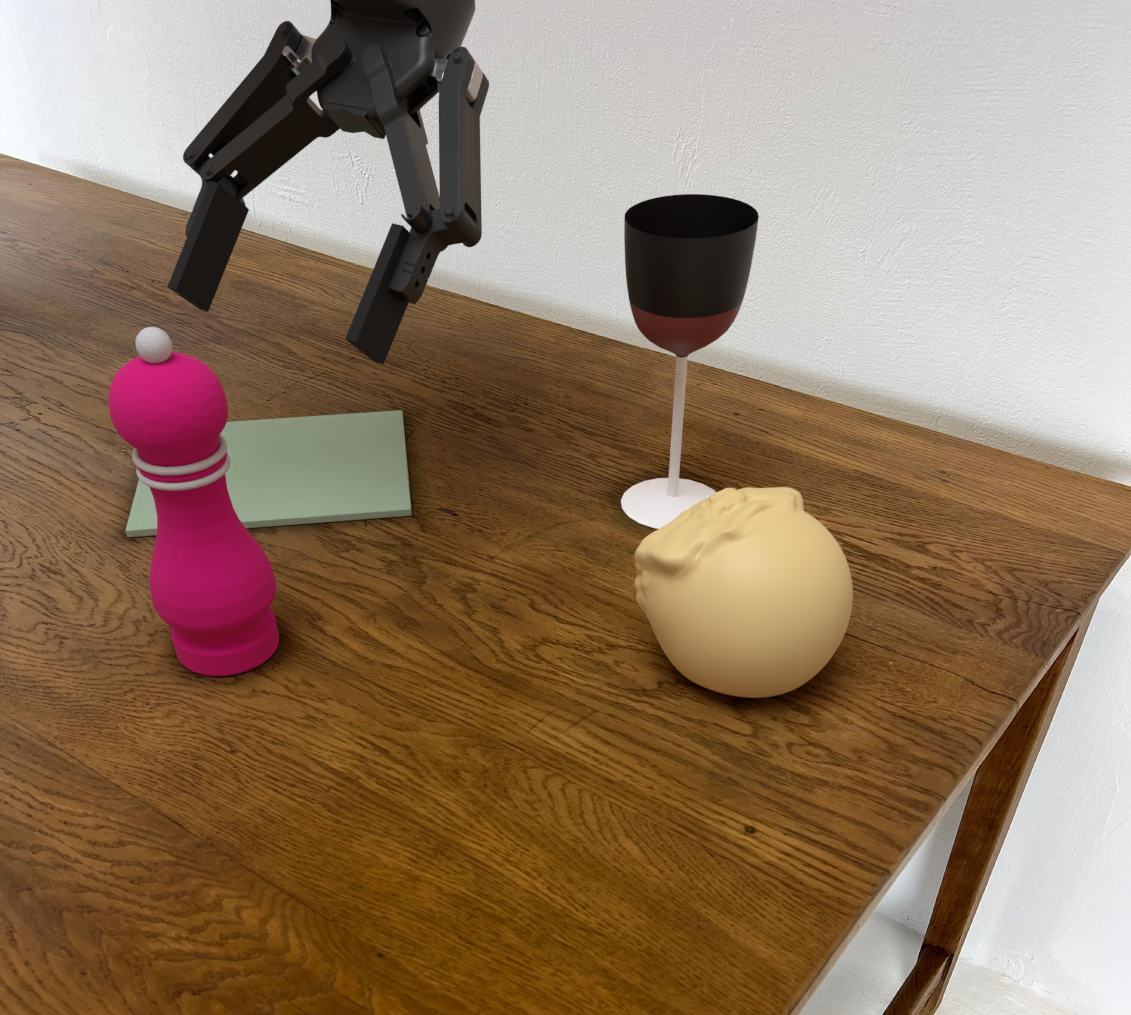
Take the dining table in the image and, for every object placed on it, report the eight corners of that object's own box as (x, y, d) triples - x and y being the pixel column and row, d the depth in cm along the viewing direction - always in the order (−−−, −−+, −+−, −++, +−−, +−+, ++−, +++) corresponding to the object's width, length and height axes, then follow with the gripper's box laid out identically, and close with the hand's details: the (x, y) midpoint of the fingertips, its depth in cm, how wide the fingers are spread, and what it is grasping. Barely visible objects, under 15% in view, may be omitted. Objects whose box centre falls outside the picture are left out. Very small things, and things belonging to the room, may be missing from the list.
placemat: (127, 537, 80) (125, 530, 80) (154, 433, 92) (152, 426, 92) (411, 516, 82) (411, 508, 82) (402, 416, 94) (402, 409, 94)
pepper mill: (253, 599, 75) (184, 290, 61) (309, 651, 71) (248, 331, 57) (149, 641, 71) (51, 324, 58) (201, 698, 67) (110, 371, 54)
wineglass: (751, 498, 84) (785, 211, 71) (678, 546, 79) (700, 248, 66) (666, 463, 88) (683, 185, 75) (592, 507, 83) (596, 218, 70)
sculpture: (729, 583, 76) (745, 433, 69) (875, 666, 69) (911, 510, 62) (603, 653, 70) (606, 497, 63) (749, 750, 64) (772, 589, 56)
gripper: (632, 38, 61) (481, 405, 62) (292, -7, 72) (166, 310, 73) (579, -71, 55) (410, 343, 56) (211, -103, 65) (74, 247, 66)
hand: (272, 325), depth 64 cm, fingers open, 13 cm apart
